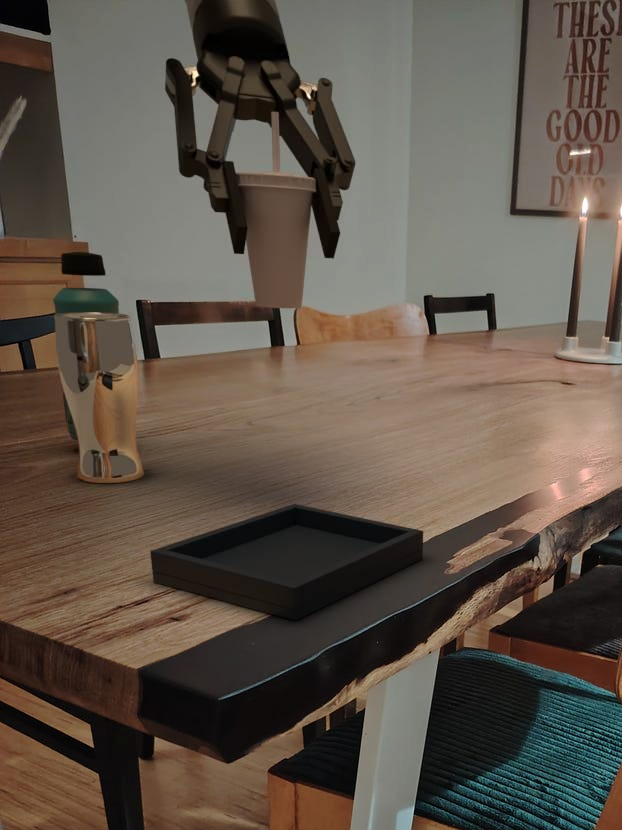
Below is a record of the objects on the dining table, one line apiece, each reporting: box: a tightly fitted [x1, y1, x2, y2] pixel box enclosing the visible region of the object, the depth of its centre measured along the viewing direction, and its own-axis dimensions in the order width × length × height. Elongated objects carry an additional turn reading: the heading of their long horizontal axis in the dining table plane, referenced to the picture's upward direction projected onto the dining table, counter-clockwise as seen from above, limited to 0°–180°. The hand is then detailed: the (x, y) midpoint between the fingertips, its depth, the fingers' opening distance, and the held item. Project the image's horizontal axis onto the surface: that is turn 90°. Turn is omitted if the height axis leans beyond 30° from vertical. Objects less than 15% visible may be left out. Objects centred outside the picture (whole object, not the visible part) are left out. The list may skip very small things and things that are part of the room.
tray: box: [150, 503, 424, 622], centre depth 68 cm, size 16×13×2 cm
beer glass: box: [53, 312, 145, 484], centre depth 88 cm, size 7×7×15 cm
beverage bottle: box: [52, 251, 120, 441], centre depth 97 cm, size 6×7×20 cm
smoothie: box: [236, 112, 317, 309], centre depth 74 cm, size 6×6×14 cm
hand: (287, 242), depth 71 cm, fingers closed on smoothie, 6 cm apart
